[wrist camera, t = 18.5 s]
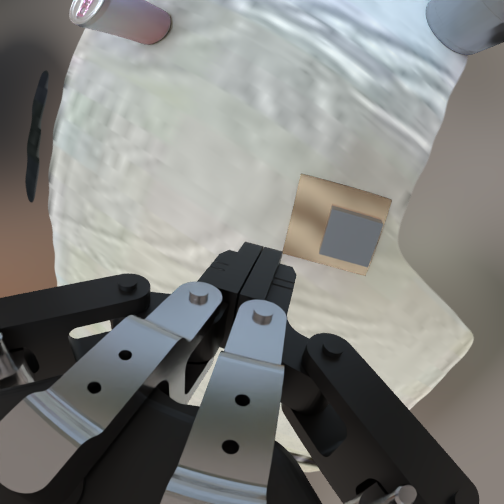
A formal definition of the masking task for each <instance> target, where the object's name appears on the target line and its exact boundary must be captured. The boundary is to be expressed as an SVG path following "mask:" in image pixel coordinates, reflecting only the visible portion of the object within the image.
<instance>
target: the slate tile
mask: <svg viewBox="0 0 504 504" xmlns="http://www.w3.org/2000/svg"><path fill="white" fill-rule="evenodd" d="M382 227H383V222H382V221H381V219H380V218H378V217H374V216H371V215H368V214H365V213H361V212H358V211H354V210H351V209H348V208H344V207H341V206H337V205H333V204H332V205H331V209H330V212H329V216H328V219H327V223H326V226H325V230H324V233H323V237H322V240H321V244H320V248H319V254H321V255H325V256H328V257H332V258H336V259H339V260H343V261H346V262H350V263H353V264H357V265H361V266H364V267H368V266H369V263H370V261H371V258H372V255H373V253H374V250H375V247H376V244H377V242H378V239H379V236H380V233H381V230H382Z"/></svg>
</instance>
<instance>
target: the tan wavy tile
mask: <svg viewBox="0 0 504 504" xmlns="http://www.w3.org/2000/svg"><path fill="white" fill-rule="evenodd" d="M391 202H392V200H391V199H388V198H385V197H382V196H379V195H375V194H372V193H369V192H366V191H362V190H359V189H356V188H352V187H349V186H345V185H342V184H338V183H335V182H331V181H327V180H324V179H320V178H316V177H312V176H308V175H304V174H301V176H300V180H299V184H298V189H297V193H296V198H295V202H294V206H293V210H292V215H291V219H290V223H289V227H288V231H287V236H286V240H285V244H284V248H283V254H287V255H290V256H294V257H298V258H301V259H305V260H309V261H312V262H316V263H320V264H324V265H327V266H331V267H335V268H338V269H342V270H346V271H349V272H353V273H356V274H360V275H364V276H366V273H367V271H368V268H369V266H368V267H364V266H361V265H357V264H353V263H350V262H346V261H343V260H339V259H336V258H332V257H328V256H325V255H321V254H319V248H320V244H321V240H322V237H323V233H324V230H325V226H326V223H327V219H328V216H329V212H330V209H331V205H332V204H333V205H337V206H341V207H344V208H348V209H351V210H354V211H358V212H361V213H365V214H368V215H371V216H374V217H378V218H380V219H381V221H382V222H383V226H384V223H385V220H386V217H387V214H388V211H389V208H390V205H391ZM382 229H383V227H382ZM381 232H382V230H381ZM380 235H381V233H380ZM379 238H380V236H379ZM378 241H379V239H378ZM377 244H378V242H377ZM377 244H376V246H377ZM375 249H376V247H375ZM374 252H375V250H374ZM373 255H374V253H373ZM373 255H372V257H373ZM371 260H372V258H371ZM370 263H371V261H370ZM370 263H369V265H370Z"/></svg>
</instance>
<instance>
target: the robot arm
mask: <svg viewBox="0 0 504 504" xmlns="http://www.w3.org/2000/svg"><path fill="white" fill-rule="evenodd" d="M426 17H427V21H428V23H429V26H430V28H431V29H432V31H433V33H434V34H435V35H436V37H437V38H438V39H439V40H440V41H441V42H442V43H443V44H444V45H446V46H447V47H448V48H450V49H452V50H453V51H455V52H458V53H460V54H465V55H471V54H475V53H478V52H480V51H482V50H485V49H487V48H490V47H493V46H495V45H497V44H500V43H503V42H504V0H431V1H430V2H429V3H428V5H427V8H426ZM282 253H283V252H282V251H278V250H275V249H271V248H267V247H264V249H263V246H259V245H256V244H252V243H248V242H245V243H244V244H243V245H242V247H241V248H240V250H239V251H238V252H235V251H231V250H228V251H226V252H223V253H221V254H219V255H218V257H217V258H216V259H215V260H214V262H213V263H212V264H211V265H210V267H209V268H208V269H207V270H206V271H205V272H204V274H203V275H202V276H201V277H200V279H199V280H198V281H197V282H188V283H185V284H183V285H181V286H179V287H178V288H177V289H176V290H175V291H174V292H173V293H172V294H165V293H156V292H150V283H149V281H148V280H147V279H146V278H144V277H142V276H140V275H136V274H120V275H115V276H110V277H105V278H100V279H95V280H90V281H84V282H79V283H74V284H69V285H64V286H59V287H54V288H49V289H44V290H38V291H33V292H29V293H23V294H18V295H13V296H9V297H4V298H0V504H322V503H321V501H320V499H319V498H318V496H317V494H316V493H315V491H314V489H313V488H312V486H311V484H310V483H309V481H308V479H307V478H306V476H305V474H304V472H303V471H302V469H301V467H300V466H299V464H298V462H297V461H296V460H295V459H294V457H293V456H292V455H291V454H290V453H289V452H288V451H287V450H286V449H285V448H284V447H283V446H282V445H280V444H279V443H278V442H277V441H275V435H276V429H277V422H278V415H279V408H280V402H281V403H282V404H281V406H282V411H283V413H284V414H285V416H286V418H287V419H288V421H289V423H290V424H291V426H292V427H293V429H294V431H295V432H296V434H297V435H298V437H299V438H300V440H301V442H302V443H303V445H304V446H305V448H306V449H307V451H308V452H309V454H310V455H311V457H312V458H313V460H314V462H315V463H316V465H317V466H318V468H319V469H320V471H321V472H322V474H323V475H324V476H325V478H326V479H327V481H328V482H329V484H330V485H331V486H332V488H333V490H334V491H335V492H336V494H337V495H338V497H339V498H340V499H341V501H342V502H343V504H479V495H478V491H477V489H476V487H475V485H474V484H473V483H472V482H471V481H470V479H469V478H468V477H467V476H466V475H465V474H464V473H463V471H462V470H461V469H460V468H459V467H458V466H457V464H456V463H455V462H454V461H453V460H452V459H451V457H450V456H449V455H448V454H447V453H446V452H445V451H444V449H443V448H442V447H441V446H440V445H439V444H438V443H437V441H436V440H435V439H434V438H433V437H432V436H431V435H430V433H428V431H427V430H426V429H425V428H424V427H423V425H422V424H421V423H420V422H419V421H418V420H417V419H416V417H415V416H414V415H413V414H412V413H411V412H410V411H409V410H408V408H407V407H406V406H405V405H404V404H403V403H402V402H401V401H400V399H399V398H398V397H397V396H396V395H395V394H394V393H393V392H392V390H391V389H390V388H389V387H388V386H387V385H386V384H385V383H384V381H383V380H382V379H381V378H380V377H379V376H378V375H377V374H376V372H375V371H374V370H373V369H372V368H371V367H370V366H369V365H368V364H367V362H366V361H365V360H364V359H363V358H362V357H361V356H360V355H359V354H358V352H357V351H356V350H355V349H354V348H353V347H352V346H351V345H350V344H349V343H348V342H347V341H346V340H345V339H343V338H341V337H339V336H337V335H334V334H329V333H320V334H316V335H314V336H312V337H311V338H310V339H309V338H307V337H305V336H303V335H301V334H299V333H298V332H297V331H295V330H294V329H293V328H292V327H291V325H290V324H289V322H288V320H287V312H288V308H289V304H290V300H291V296H292V292H293V287H294V283H295V279H296V273H295V271H294V269H293V267H290V266H286V265H283V264H280V262H281V258H282ZM107 320H110V322H111V329H112V330H111V331H109V332H105V333H100V334H96V335H92V336H88V337H84V338H79V339H75V338H72V337H70V336H69V333H70V332H71V331H72V330H73V329H75V328H77V327H82V326H86V325H90V324H95V323H99V322H103V321H107ZM219 347H221V348H224V351H221V352H220V354H219V356H218V359H217V362H216V364H215V367H214V370H213V373H212V375H211V378H210V381H209V383H208V386H207V389H206V391H205V394H204V397H203V399H202V402H201V405H200V407H199V406H192V405H187V404H188V402H189V400H190V398H191V397H192V395H193V394H194V392H195V391H196V389H197V388H198V386H199V384H200V383H201V381H202V380H203V378H204V377H205V375H206V373H207V372H208V370H209V369H210V367H211V365H212V364H213V360H214V356H215V354H216V352H217V350H218V348H219Z"/></svg>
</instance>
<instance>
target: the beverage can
mask: <svg viewBox="0 0 504 504" xmlns="http://www.w3.org/2000/svg"><path fill="white" fill-rule="evenodd" d="M69 16H70V20H71V22H72V23H74V24H77V25H78V26H80V27H83V28H88V29H92V30H97V31H101V32H105V33H108V34H112V35H116V36H119V37H123V38H126V39H130V40H133V41H136V42H139V43H143V44H153V43H155V42H157V41H159V40H161V39H162V38H163V37H164V36H165V35H166V34H167V32H168V30H169V28H170V23H171V21H170V16H169V14H168V13H167V12H165V11H164V10H162V9H160V8H158V7H156V6H154V5H153V4H151V3H149V2H147V1H145V0H74V1H73V3H72V5H71V8H70V13H69Z"/></svg>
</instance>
